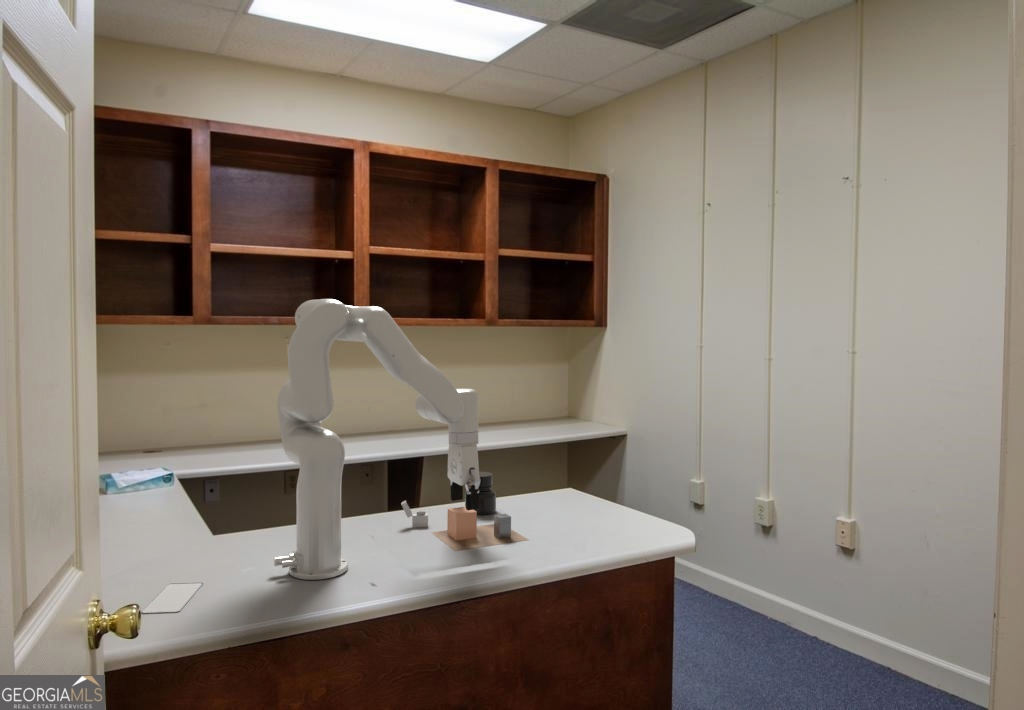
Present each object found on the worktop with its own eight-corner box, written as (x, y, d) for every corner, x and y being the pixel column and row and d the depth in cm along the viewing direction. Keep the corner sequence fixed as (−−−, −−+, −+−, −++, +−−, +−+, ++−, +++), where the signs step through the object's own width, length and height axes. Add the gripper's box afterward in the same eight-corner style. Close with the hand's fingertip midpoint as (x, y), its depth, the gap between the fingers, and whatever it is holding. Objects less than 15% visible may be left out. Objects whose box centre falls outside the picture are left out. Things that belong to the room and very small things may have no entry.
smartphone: (204, 582, 146) (179, 611, 131) (204, 584, 146) (179, 614, 131) (169, 583, 145) (139, 613, 130) (169, 585, 145) (139, 616, 130)
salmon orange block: (455, 540, 172) (456, 514, 172) (447, 534, 177) (447, 508, 177) (476, 537, 175) (476, 511, 175) (467, 531, 180) (467, 506, 180)
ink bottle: (483, 509, 206) (483, 469, 205) (503, 515, 200) (503, 474, 199) (457, 515, 199) (457, 473, 199) (477, 522, 193) (477, 479, 192)
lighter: (427, 529, 185) (428, 499, 185) (428, 531, 184) (428, 501, 183) (401, 530, 184) (401, 500, 184) (400, 532, 183) (401, 502, 182)
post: (499, 539, 174) (499, 518, 173) (493, 535, 177) (494, 514, 176) (510, 537, 175) (511, 516, 175) (505, 534, 178) (505, 513, 178)
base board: (455, 555, 165) (455, 550, 165) (431, 537, 179) (431, 532, 179) (529, 544, 174) (529, 539, 174) (500, 527, 188) (500, 523, 188)
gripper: (437, 433, 181) (438, 498, 182) (463, 445, 166) (464, 515, 167) (463, 431, 184) (464, 494, 186) (491, 442, 169) (492, 511, 170)
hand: (464, 504), depth 176 cm, fingers open, 9 cm apart
